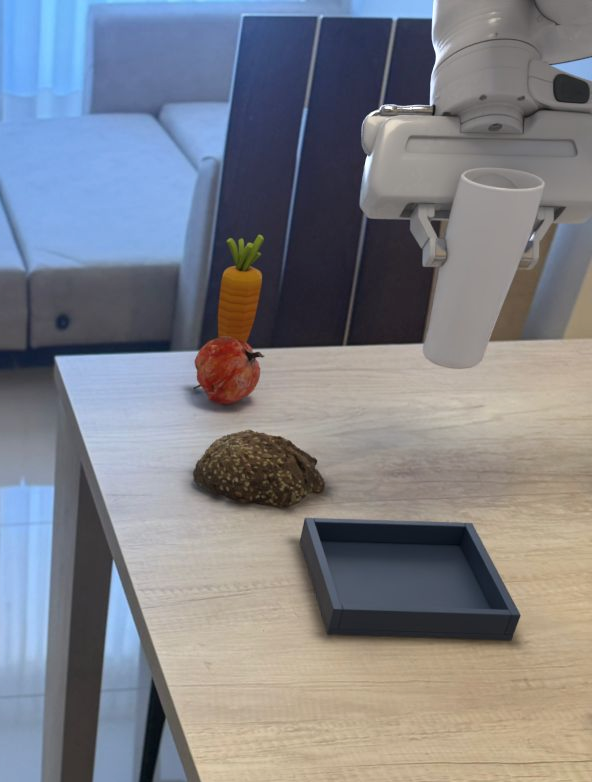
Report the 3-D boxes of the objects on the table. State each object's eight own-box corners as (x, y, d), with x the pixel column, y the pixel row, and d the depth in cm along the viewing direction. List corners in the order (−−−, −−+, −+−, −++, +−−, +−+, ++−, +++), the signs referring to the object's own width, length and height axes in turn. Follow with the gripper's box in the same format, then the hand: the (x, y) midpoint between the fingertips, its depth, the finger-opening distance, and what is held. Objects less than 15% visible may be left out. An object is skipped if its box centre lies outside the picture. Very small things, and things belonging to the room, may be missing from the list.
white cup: (469, 381, 101) (525, 195, 91) (399, 359, 105) (445, 177, 94) (502, 359, 105) (560, 178, 95) (434, 339, 108) (482, 162, 98)
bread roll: (175, 485, 118) (181, 439, 115) (233, 442, 125) (240, 398, 122) (289, 523, 112) (299, 476, 109) (343, 476, 120) (353, 431, 116)
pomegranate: (180, 422, 134) (242, 392, 126) (163, 359, 133) (225, 325, 125) (224, 412, 138) (287, 383, 130) (208, 351, 137) (270, 318, 129)
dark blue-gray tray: (464, 547, 110) (472, 522, 108) (511, 640, 98) (521, 615, 96) (299, 541, 110) (304, 517, 108) (327, 634, 98) (333, 609, 97)
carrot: (201, 367, 141) (219, 236, 130) (219, 354, 144) (238, 225, 133) (238, 377, 139) (259, 244, 128) (256, 364, 142) (277, 233, 131)
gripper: (373, 80, 96) (369, 242, 96) (621, 86, 96) (618, 249, 95) (352, 127, 103) (347, 280, 102) (584, 133, 102) (581, 286, 101)
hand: (480, 265), depth 99 cm, fingers closed on white cup, 6 cm apart
